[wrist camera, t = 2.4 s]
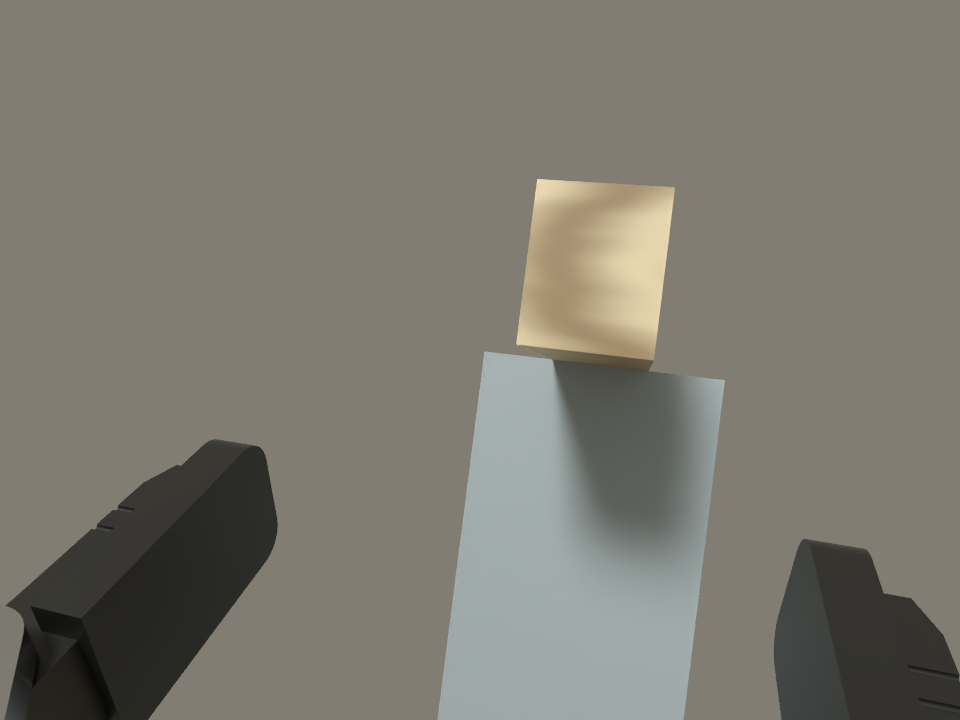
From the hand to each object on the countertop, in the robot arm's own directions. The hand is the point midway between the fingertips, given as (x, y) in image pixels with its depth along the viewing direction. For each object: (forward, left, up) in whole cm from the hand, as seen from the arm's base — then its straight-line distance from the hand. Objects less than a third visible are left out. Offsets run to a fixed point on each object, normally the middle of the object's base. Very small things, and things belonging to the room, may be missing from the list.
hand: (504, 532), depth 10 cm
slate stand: (0, +25, -29) cm, 38 cm away
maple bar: (0, +22, +3) cm, 22 cm away
